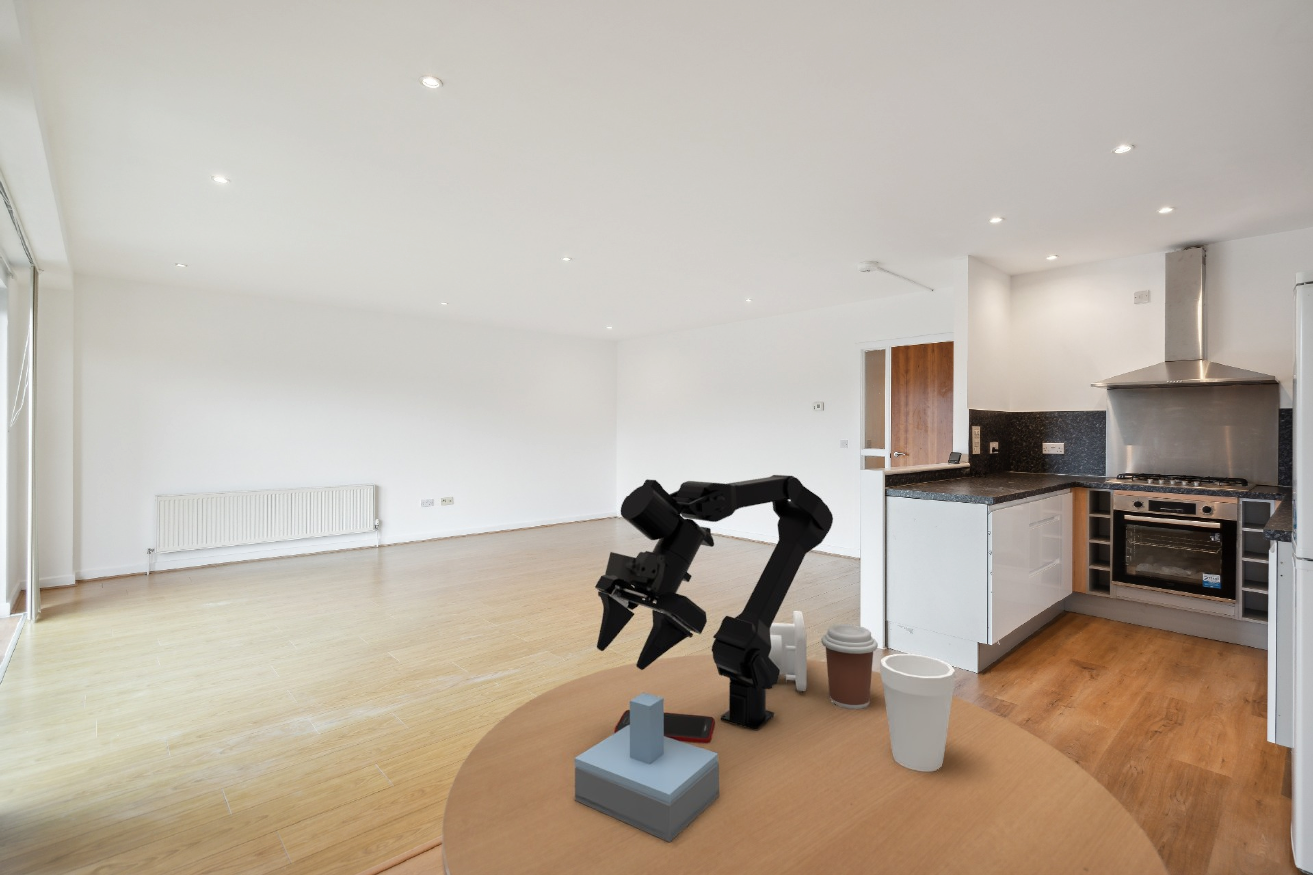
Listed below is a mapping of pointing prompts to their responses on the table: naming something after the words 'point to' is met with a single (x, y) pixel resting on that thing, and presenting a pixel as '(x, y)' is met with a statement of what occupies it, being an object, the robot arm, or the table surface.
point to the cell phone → (680, 726)
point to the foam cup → (917, 708)
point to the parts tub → (647, 802)
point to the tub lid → (647, 754)
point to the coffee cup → (849, 664)
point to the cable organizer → (790, 649)
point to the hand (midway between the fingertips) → (618, 658)
